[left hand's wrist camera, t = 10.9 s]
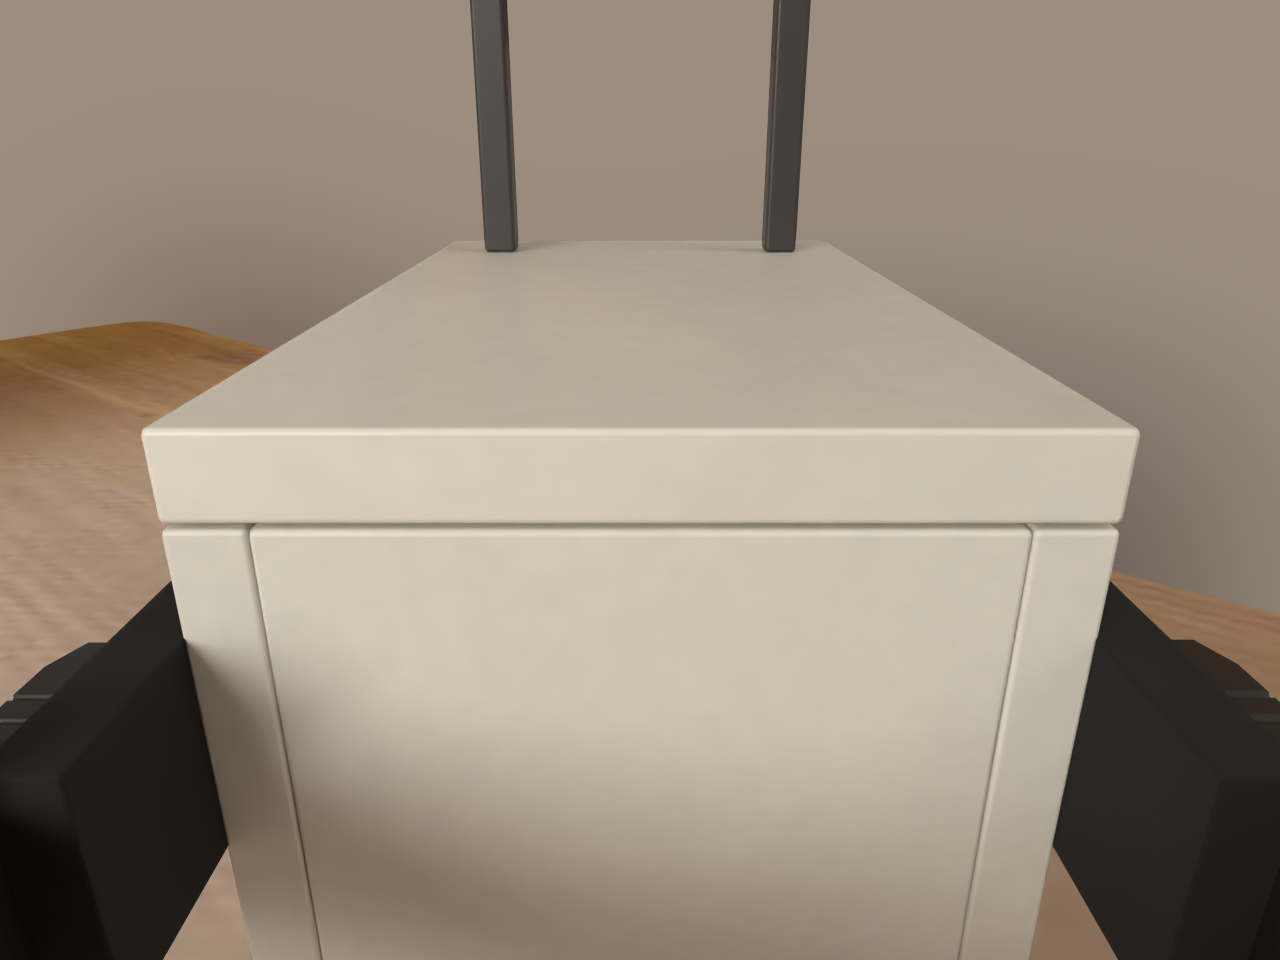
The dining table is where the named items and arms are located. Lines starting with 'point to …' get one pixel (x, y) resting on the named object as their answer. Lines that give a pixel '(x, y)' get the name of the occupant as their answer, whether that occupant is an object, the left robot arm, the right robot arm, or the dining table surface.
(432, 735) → the chest
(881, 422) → the lid
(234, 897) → the dining table surface
